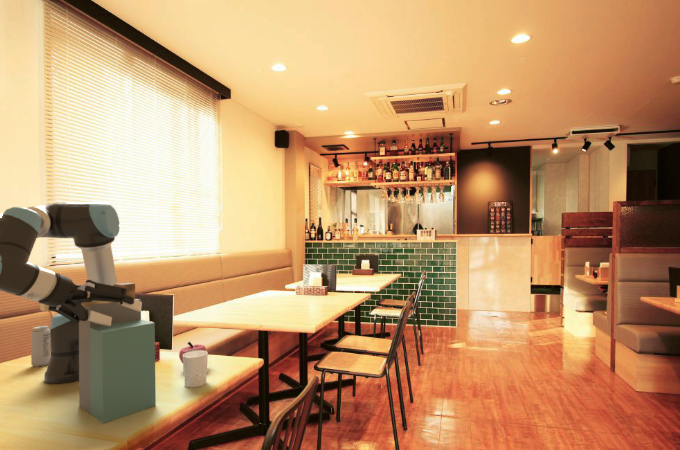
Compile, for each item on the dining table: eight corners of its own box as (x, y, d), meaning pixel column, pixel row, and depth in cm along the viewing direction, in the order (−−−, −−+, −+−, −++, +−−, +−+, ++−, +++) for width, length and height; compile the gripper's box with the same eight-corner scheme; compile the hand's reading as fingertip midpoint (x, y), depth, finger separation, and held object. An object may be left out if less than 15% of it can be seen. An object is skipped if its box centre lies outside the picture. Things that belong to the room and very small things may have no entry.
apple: (177, 374, 143) (177, 346, 144) (181, 366, 152) (180, 340, 152) (205, 371, 146) (205, 343, 146) (207, 364, 154) (207, 338, 154)
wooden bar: (45, 311, 106) (45, 292, 106) (39, 309, 110) (38, 291, 110) (135, 299, 123) (135, 283, 124) (127, 298, 127) (126, 282, 127)
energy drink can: (37, 363, 160) (37, 325, 161) (53, 362, 161) (53, 325, 161) (27, 368, 154) (27, 329, 155) (44, 367, 155) (44, 328, 155)
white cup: (200, 389, 129) (199, 357, 129) (178, 387, 130) (177, 356, 131) (212, 380, 136) (212, 350, 137) (191, 379, 138) (191, 350, 138)
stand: (103, 423, 106) (102, 309, 107) (79, 406, 118) (78, 303, 118) (155, 405, 117) (154, 302, 118) (129, 391, 128) (128, 297, 129)
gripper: (8, 319, 95) (93, 342, 112) (78, 281, 90) (156, 310, 107) (17, 292, 100) (96, 317, 117) (84, 254, 94) (157, 286, 111)
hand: (125, 314), depth 112 cm, fingers open, 11 cm apart
